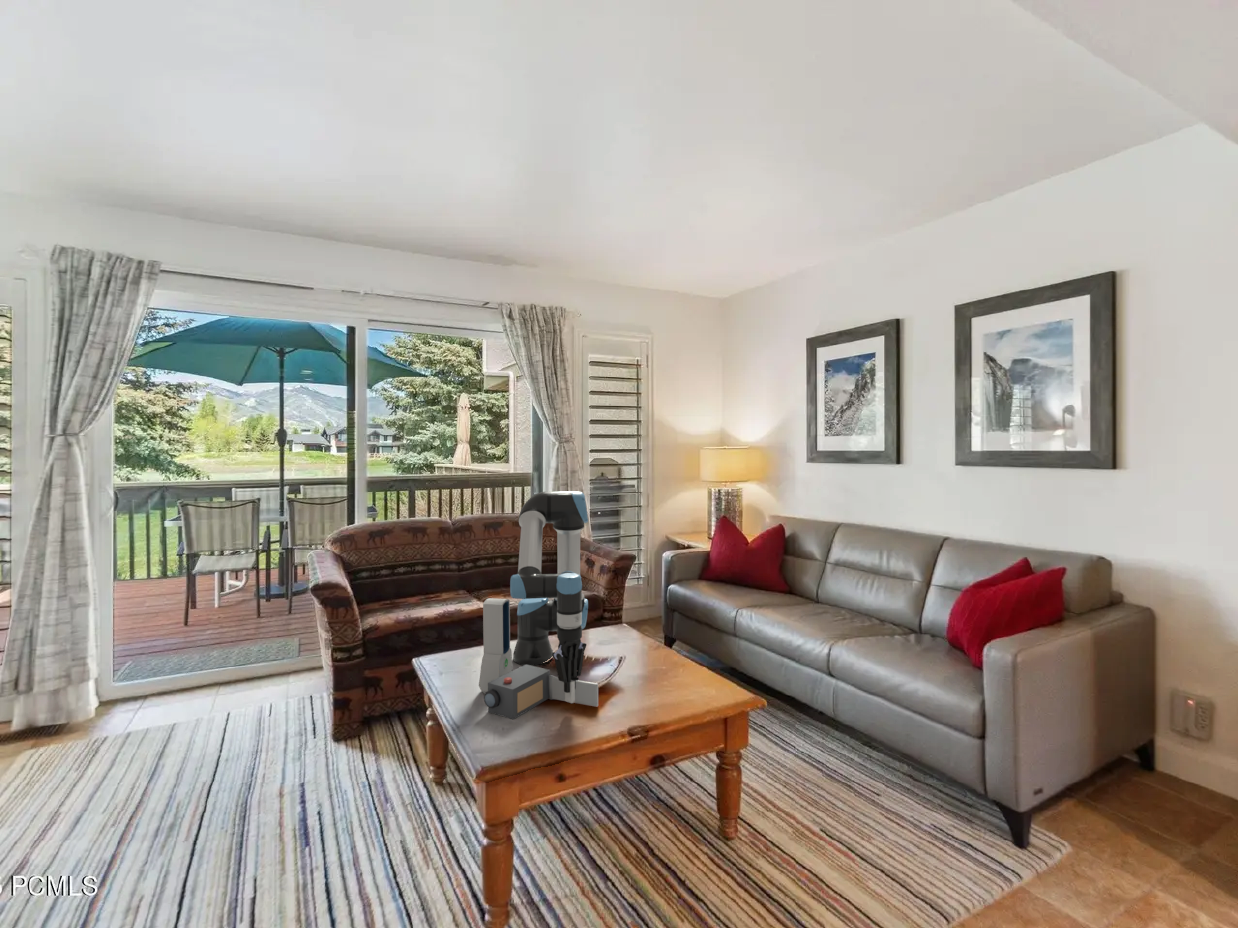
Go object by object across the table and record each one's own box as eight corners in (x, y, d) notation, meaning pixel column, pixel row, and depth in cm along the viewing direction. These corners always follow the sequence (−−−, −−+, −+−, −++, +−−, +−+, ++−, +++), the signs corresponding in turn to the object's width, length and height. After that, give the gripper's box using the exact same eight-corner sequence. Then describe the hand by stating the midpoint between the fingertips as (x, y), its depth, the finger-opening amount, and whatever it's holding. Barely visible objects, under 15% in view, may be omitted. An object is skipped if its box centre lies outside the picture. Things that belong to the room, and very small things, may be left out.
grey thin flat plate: (548, 698, 195) (548, 676, 195) (551, 696, 197) (551, 674, 197) (596, 707, 189) (596, 684, 188) (599, 705, 190) (598, 682, 190)
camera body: (526, 690, 202) (525, 661, 201) (550, 697, 196) (550, 667, 196) (483, 713, 185) (483, 681, 184) (509, 721, 180) (508, 688, 179)
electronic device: (499, 696, 198) (498, 604, 197) (478, 694, 199) (476, 603, 198) (513, 681, 210) (512, 595, 209) (493, 679, 211) (492, 594, 210)
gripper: (563, 633, 177) (563, 712, 178) (593, 622, 187) (593, 697, 188) (545, 628, 182) (545, 705, 183) (575, 617, 192) (575, 690, 193)
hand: (570, 701), depth 186 cm, fingers closed
